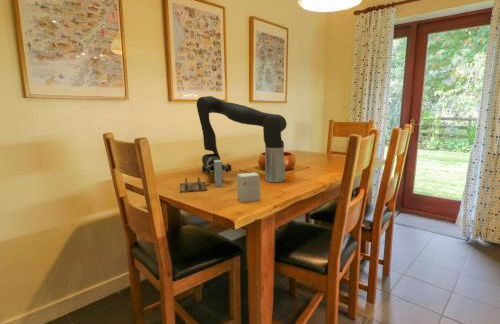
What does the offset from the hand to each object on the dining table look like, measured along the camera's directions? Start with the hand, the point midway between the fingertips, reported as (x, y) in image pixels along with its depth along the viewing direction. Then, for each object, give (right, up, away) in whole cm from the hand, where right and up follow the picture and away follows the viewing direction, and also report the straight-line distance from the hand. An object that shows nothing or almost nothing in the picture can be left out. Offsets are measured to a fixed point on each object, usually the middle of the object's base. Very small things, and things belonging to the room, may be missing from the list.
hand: (218, 170), depth 137 cm
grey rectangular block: (0, -7, +3) cm, 8 cm away
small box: (+14, -11, -20) cm, 27 cm away
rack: (-12, -8, -1) cm, 14 cm away
